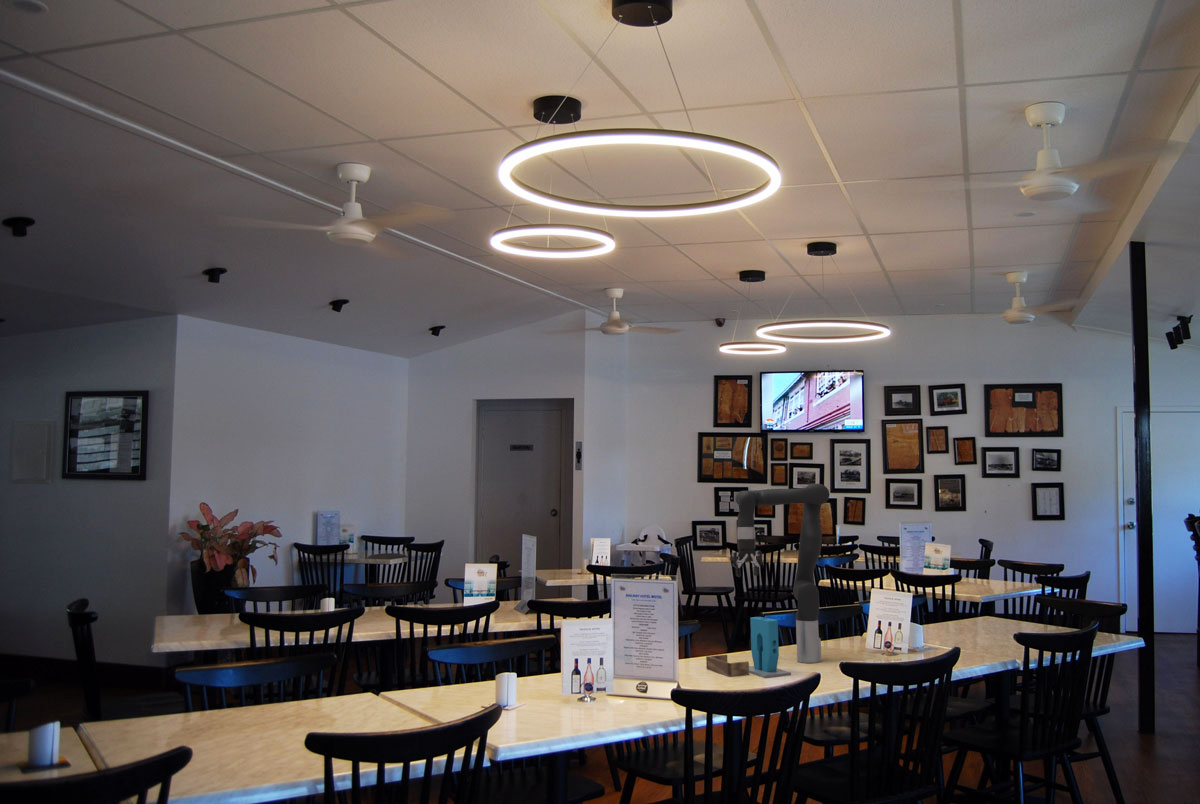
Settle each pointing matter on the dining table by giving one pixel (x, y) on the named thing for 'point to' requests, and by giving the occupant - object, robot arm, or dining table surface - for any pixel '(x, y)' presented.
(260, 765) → the dining table surface
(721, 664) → the walnut stall
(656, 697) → the dining table surface
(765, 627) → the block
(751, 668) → the slate pad
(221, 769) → the dining table surface
